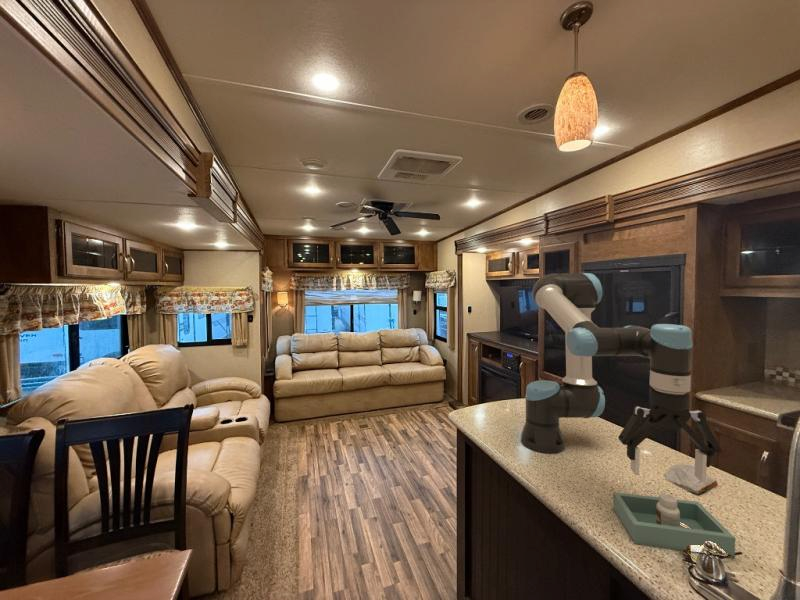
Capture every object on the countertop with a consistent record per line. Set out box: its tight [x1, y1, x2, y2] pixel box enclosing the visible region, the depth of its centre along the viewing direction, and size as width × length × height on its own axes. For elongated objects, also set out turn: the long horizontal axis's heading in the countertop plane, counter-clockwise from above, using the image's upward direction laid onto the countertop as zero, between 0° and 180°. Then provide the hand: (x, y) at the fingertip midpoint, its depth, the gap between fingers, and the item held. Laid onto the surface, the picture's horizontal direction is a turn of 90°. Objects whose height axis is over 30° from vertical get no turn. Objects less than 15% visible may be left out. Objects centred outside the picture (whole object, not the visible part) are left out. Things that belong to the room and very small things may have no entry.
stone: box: [664, 463, 719, 495], centre depth 98 cm, size 10×12×4 cm
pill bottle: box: [656, 493, 680, 527], centre depth 79 cm, size 4×4×8 cm
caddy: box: [612, 491, 736, 559], centre depth 79 cm, size 12×19×5 cm, turn 76°
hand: (666, 475), depth 79 cm, fingers open, 13 cm apart
